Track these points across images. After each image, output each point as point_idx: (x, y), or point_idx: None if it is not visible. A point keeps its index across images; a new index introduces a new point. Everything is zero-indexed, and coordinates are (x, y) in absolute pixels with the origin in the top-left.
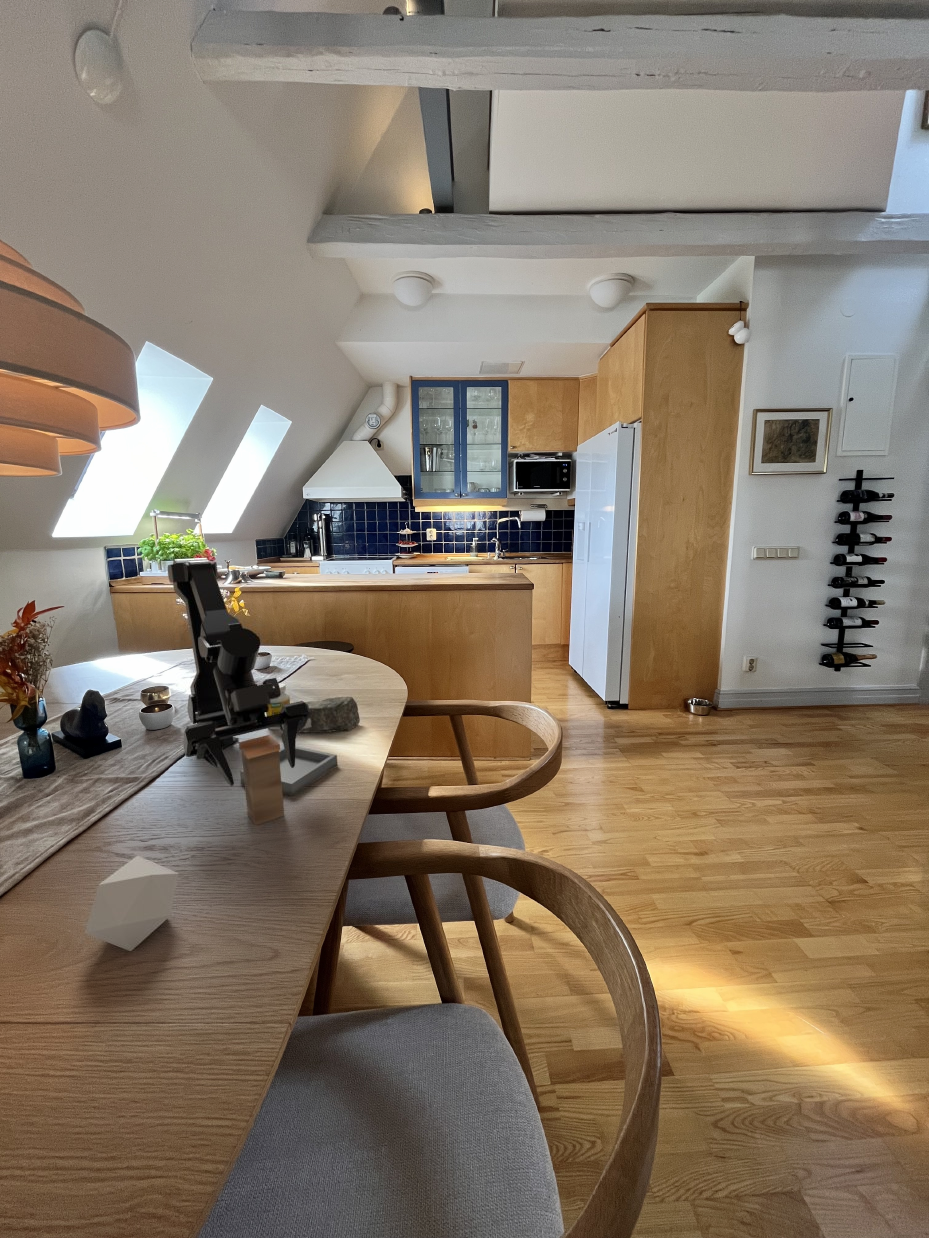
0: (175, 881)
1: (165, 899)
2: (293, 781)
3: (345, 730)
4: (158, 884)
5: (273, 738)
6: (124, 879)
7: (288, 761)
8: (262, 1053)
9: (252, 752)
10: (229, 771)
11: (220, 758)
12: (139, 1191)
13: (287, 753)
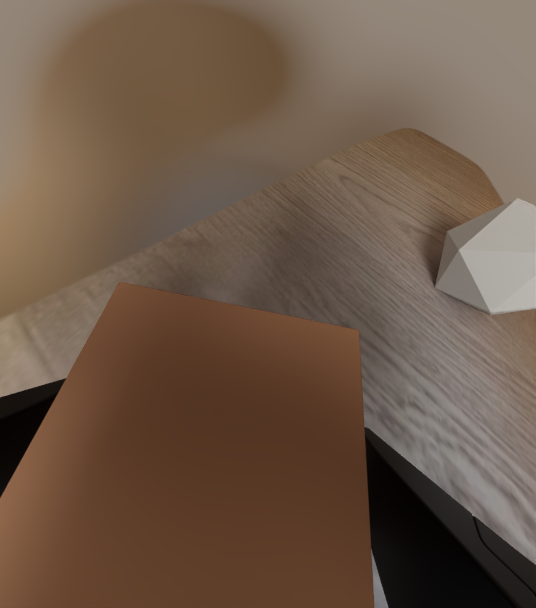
0: (459, 242)
1: (467, 222)
2: None
3: None
4: (493, 211)
5: (33, 449)
6: None
7: None
8: (371, 142)
9: (322, 324)
10: (391, 462)
11: (497, 553)
12: (431, 143)
13: (4, 478)
